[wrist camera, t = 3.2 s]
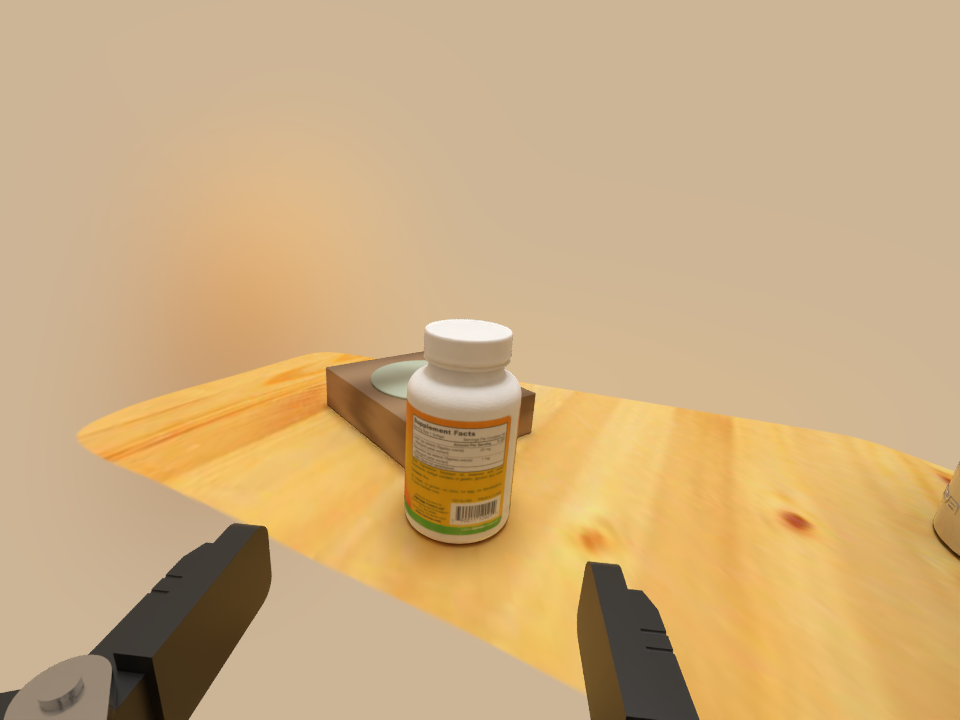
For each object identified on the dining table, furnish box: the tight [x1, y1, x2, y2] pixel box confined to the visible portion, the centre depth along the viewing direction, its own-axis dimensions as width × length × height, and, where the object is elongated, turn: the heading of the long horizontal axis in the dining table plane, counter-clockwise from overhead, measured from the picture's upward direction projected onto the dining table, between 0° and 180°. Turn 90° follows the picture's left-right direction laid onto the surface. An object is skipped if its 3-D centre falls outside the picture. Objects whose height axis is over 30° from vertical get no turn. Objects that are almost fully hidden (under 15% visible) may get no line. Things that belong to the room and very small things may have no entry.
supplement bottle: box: [404, 319, 521, 544], centre depth 22 cm, size 5×5×10 cm
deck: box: [326, 351, 536, 468], centre depth 33 cm, size 12×10×3 cm
